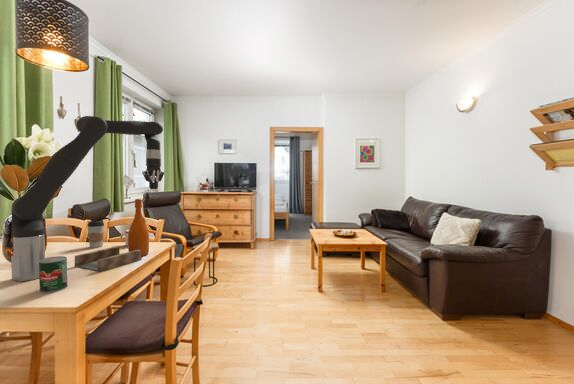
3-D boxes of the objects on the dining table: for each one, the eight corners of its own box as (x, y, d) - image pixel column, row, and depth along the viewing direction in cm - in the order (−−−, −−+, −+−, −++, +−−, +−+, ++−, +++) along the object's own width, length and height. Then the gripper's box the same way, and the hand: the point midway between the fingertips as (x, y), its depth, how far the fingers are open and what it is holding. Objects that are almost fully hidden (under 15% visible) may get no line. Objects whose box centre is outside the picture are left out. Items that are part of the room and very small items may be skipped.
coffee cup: (85, 248, 158) (84, 223, 158) (91, 245, 166) (90, 221, 166) (101, 248, 160) (101, 222, 160) (106, 244, 168) (106, 220, 168)
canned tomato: (66, 283, 106) (65, 254, 106) (69, 288, 101) (68, 259, 100) (38, 288, 101) (37, 259, 100) (40, 295, 95) (39, 263, 95)
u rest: (101, 271, 119) (101, 260, 119) (74, 266, 126) (74, 255, 126) (141, 259, 138) (141, 250, 138) (116, 255, 145) (116, 246, 145)
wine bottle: (143, 257, 142) (142, 199, 141) (124, 257, 142) (123, 199, 141) (152, 252, 152) (152, 198, 150) (135, 252, 152) (134, 198, 151)
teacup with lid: (144, 243, 174) (144, 224, 174) (138, 246, 165) (138, 227, 165) (123, 243, 173) (123, 225, 172) (117, 246, 164) (116, 227, 163)
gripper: (147, 157, 146) (148, 189, 147) (168, 159, 159) (168, 188, 159) (137, 157, 149) (138, 189, 150) (158, 159, 162) (158, 188, 162)
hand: (153, 188), depth 155 cm, fingers closed
